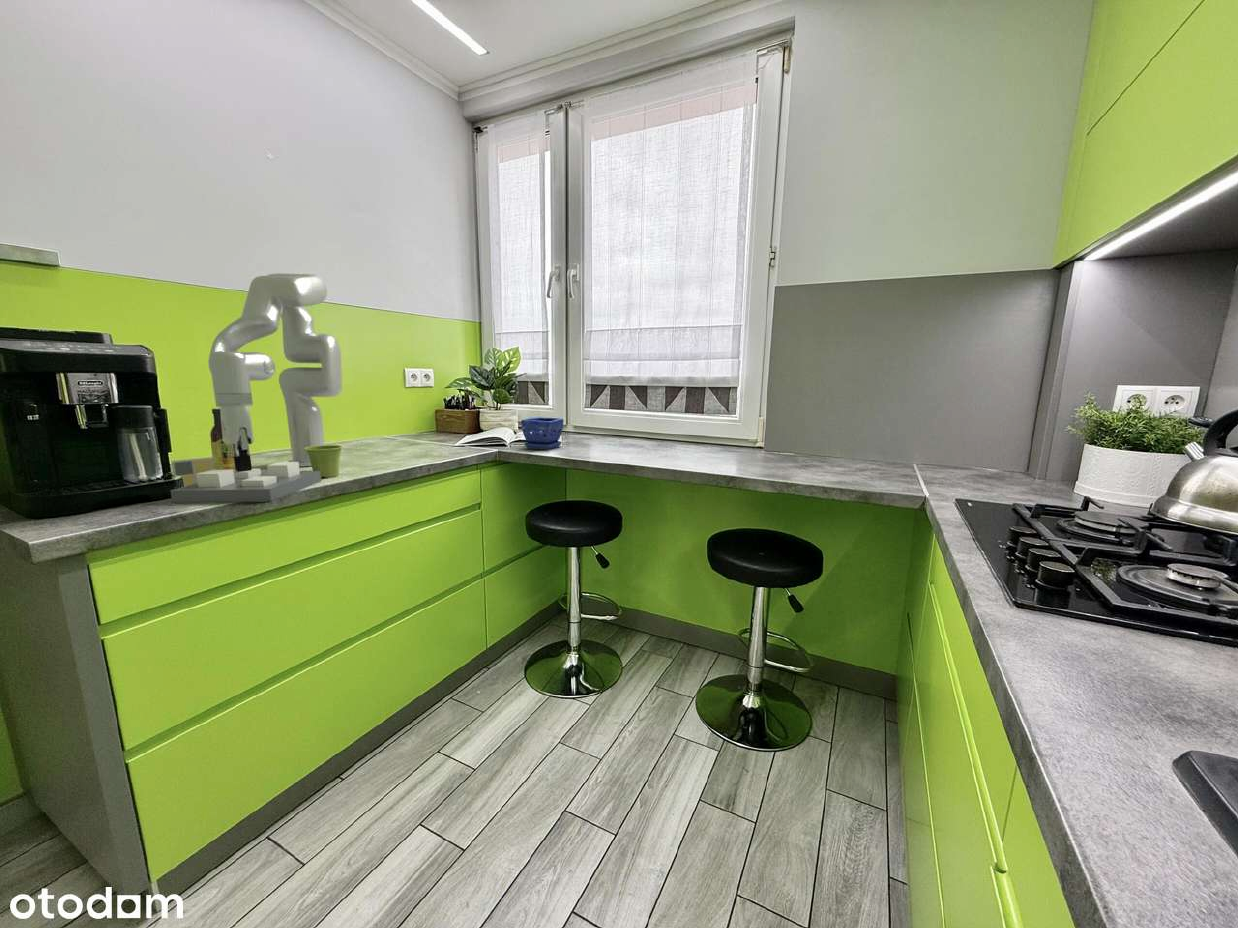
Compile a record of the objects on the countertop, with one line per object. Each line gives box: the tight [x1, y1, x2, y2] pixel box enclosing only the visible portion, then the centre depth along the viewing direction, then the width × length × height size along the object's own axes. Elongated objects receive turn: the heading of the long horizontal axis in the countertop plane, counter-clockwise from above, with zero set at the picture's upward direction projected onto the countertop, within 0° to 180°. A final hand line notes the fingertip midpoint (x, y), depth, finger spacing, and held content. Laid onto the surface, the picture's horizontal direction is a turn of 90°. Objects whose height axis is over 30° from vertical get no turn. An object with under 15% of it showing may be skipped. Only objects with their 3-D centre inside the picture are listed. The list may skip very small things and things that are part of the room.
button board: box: [169, 470, 322, 504], centre depth 123 cm, size 22×22×3 cm
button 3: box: [241, 476, 277, 487], centre depth 119 cm, size 5×5×4 cm
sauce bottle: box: [209, 407, 235, 471], centre depth 139 cm, size 6×6×20 cm
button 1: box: [196, 470, 235, 487], centre depth 118 cm, size 5×5×4 cm
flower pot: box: [520, 417, 564, 451], centre depth 196 cm, size 13×13×12 cm
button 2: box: [233, 468, 262, 478], centre depth 128 cm, size 5×5×4 cm
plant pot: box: [305, 444, 343, 479], centre depth 141 cm, size 9×9×9 cm
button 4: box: [266, 461, 301, 478], centre depth 128 cm, size 5×5×4 cm
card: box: [170, 456, 214, 486], centre depth 125 cm, size 1×8×8 cm, turn 134°
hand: (243, 470), depth 127 cm, fingers closed
